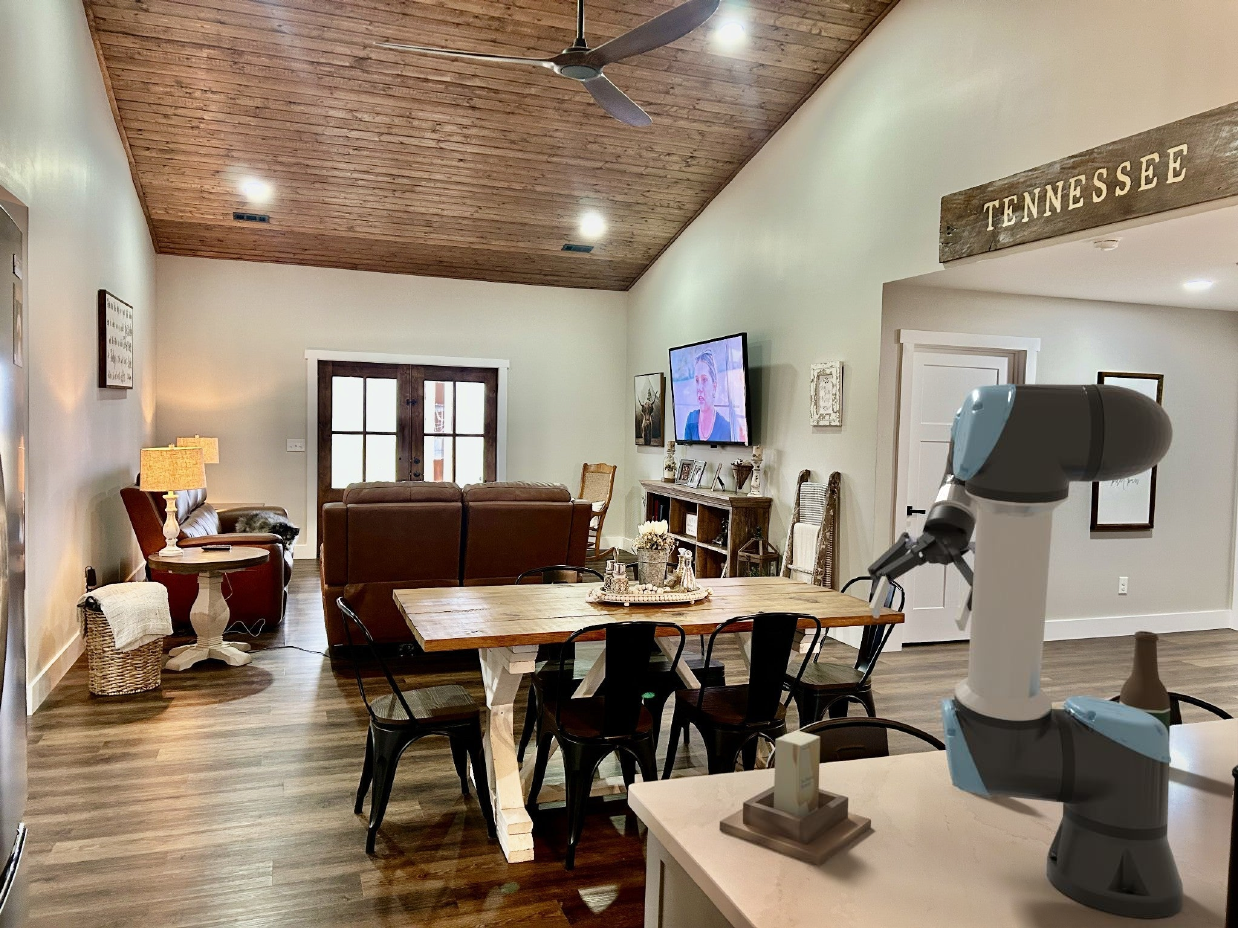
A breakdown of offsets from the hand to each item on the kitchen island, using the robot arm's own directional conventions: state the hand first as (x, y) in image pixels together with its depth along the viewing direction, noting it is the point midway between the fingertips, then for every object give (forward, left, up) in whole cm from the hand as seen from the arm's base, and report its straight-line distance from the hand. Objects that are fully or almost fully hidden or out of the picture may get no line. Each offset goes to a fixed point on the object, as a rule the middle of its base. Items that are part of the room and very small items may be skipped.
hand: (915, 619), depth 133 cm
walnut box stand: (+3, +21, -30) cm, 36 cm away
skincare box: (+3, +21, -29) cm, 35 cm away
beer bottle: (-5, -53, -30) cm, 61 cm away
